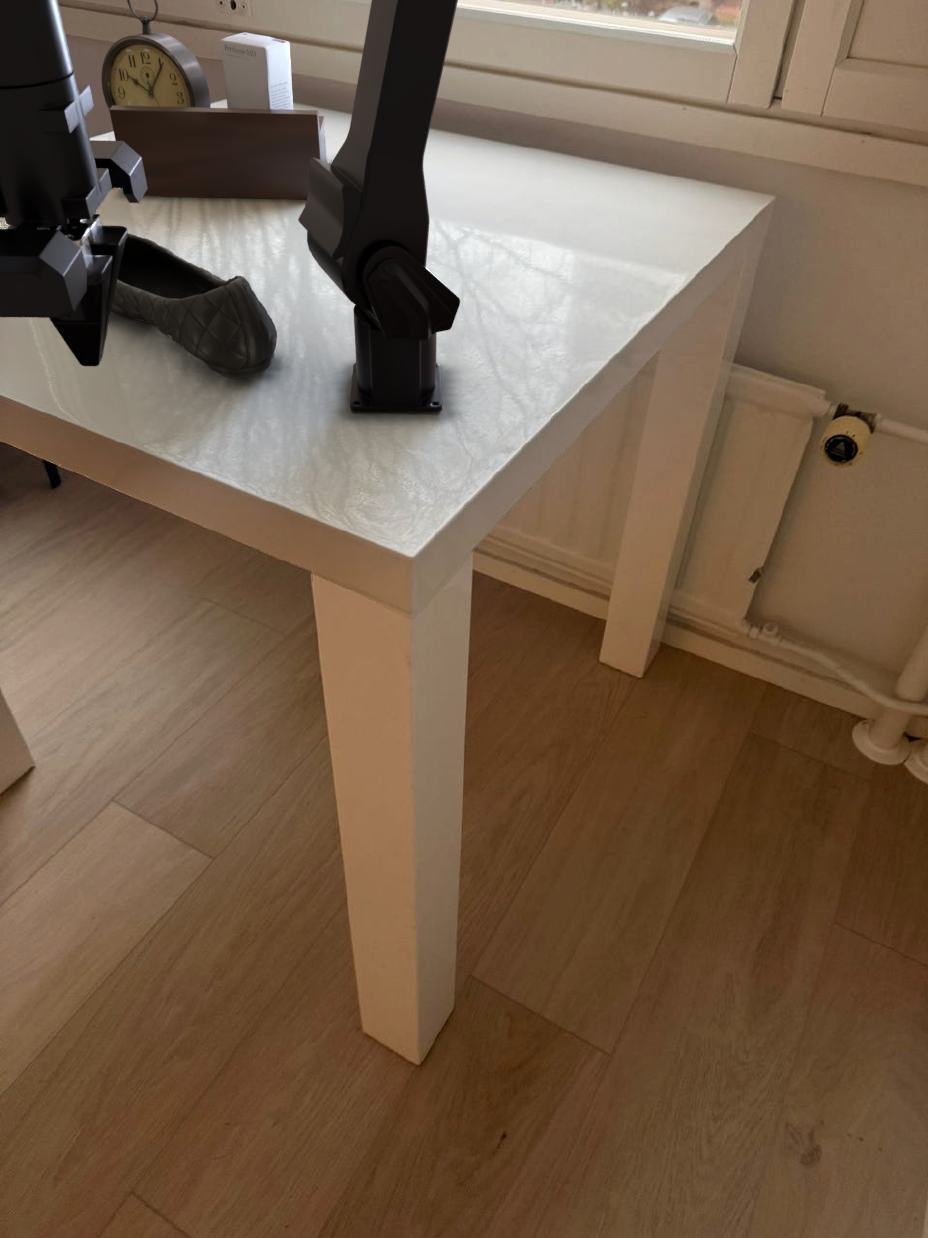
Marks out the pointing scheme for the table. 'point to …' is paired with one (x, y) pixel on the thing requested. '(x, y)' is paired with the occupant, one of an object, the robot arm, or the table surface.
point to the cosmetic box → (257, 72)
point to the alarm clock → (153, 71)
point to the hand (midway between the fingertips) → (91, 363)
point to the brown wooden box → (222, 149)
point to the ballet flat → (195, 308)
